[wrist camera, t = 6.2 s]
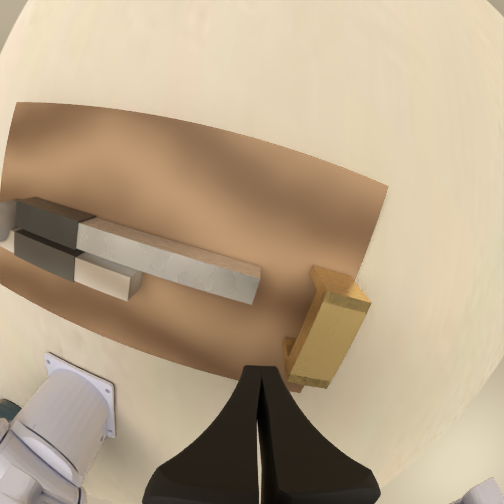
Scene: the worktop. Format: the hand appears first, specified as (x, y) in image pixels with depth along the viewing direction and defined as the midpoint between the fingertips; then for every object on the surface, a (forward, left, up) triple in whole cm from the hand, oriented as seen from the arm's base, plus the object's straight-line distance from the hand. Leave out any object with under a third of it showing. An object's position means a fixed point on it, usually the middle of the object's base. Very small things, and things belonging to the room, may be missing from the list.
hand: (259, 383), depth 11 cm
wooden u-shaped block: (+1, -3, -7) cm, 8 cm away
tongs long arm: (+2, +9, -7) cm, 12 cm away
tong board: (+2, +9, -8) cm, 12 cm away
